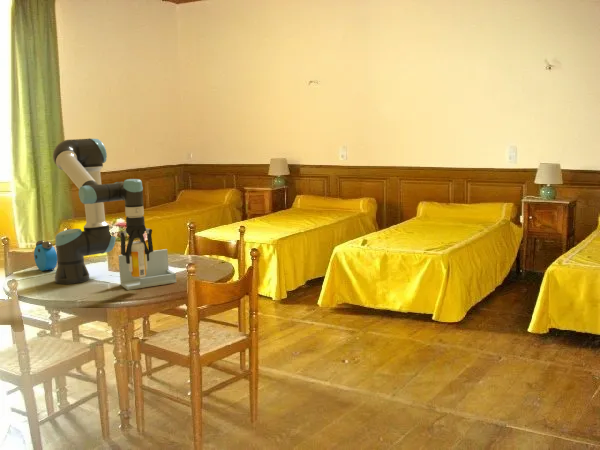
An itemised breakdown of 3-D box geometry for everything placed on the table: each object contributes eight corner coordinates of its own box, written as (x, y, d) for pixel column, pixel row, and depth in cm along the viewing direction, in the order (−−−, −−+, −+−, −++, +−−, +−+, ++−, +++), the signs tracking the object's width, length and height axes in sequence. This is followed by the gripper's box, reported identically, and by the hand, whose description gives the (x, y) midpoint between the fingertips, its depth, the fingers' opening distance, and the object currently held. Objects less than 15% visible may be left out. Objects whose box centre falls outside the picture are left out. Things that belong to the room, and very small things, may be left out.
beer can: (140, 274, 287) (138, 240, 285) (149, 276, 284) (147, 242, 281) (128, 277, 283) (126, 242, 280) (137, 279, 279) (135, 244, 276)
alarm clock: (58, 270, 330) (55, 241, 328) (46, 273, 326) (43, 243, 323) (46, 267, 339) (43, 238, 336) (34, 269, 334) (31, 240, 332)
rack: (127, 290, 286) (125, 259, 284) (120, 285, 296) (118, 255, 293) (176, 282, 297) (174, 252, 295) (168, 277, 306) (166, 249, 304)
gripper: (114, 219, 271) (118, 274, 275) (159, 215, 280) (162, 268, 284) (110, 217, 277) (113, 271, 281) (153, 212, 286) (156, 265, 290)
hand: (138, 269), depth 282 cm, fingers closed on beer can, 6 cm apart
